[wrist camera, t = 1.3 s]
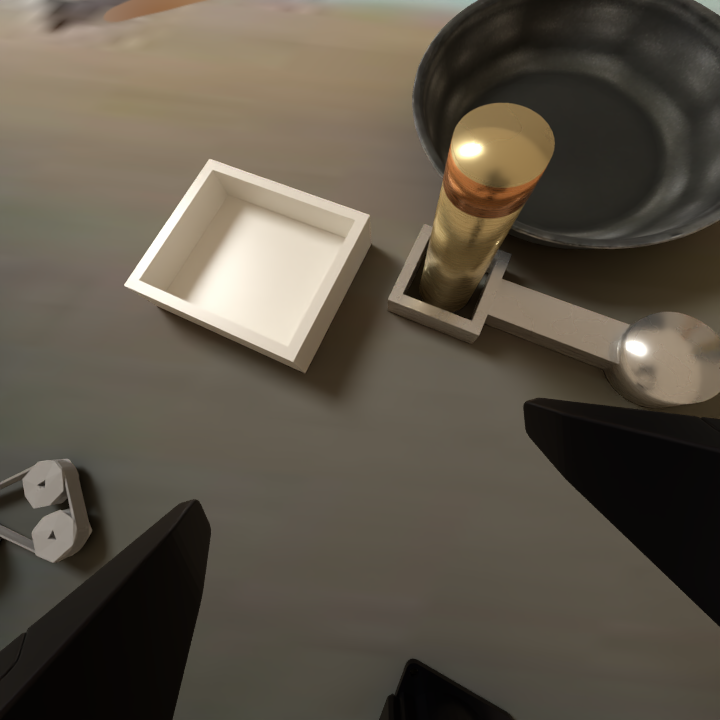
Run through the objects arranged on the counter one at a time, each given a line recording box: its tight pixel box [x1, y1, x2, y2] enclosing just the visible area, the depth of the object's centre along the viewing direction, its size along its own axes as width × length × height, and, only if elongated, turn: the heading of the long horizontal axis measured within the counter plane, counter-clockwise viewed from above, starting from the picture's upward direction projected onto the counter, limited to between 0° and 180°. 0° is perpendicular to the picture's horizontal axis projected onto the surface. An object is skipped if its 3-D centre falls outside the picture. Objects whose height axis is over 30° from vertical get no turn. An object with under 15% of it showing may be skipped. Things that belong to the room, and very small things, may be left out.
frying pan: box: [412, 0, 720, 249], centre depth 28 cm, size 44×25×7 cm, turn 166°
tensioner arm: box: [388, 224, 720, 408], centre depth 23 cm, size 21×7×2 cm, turn 65°
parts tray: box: [124, 159, 371, 373], centre depth 26 cm, size 14×12×4 cm
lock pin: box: [419, 103, 555, 313], centre depth 20 cm, size 4×4×13 cm
